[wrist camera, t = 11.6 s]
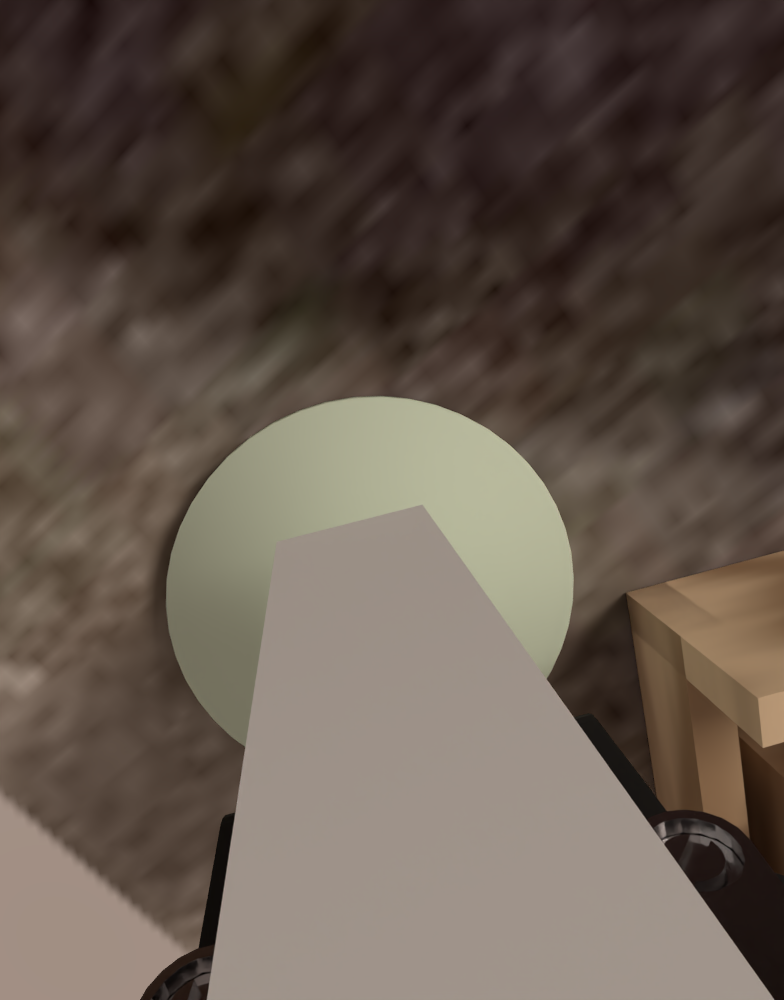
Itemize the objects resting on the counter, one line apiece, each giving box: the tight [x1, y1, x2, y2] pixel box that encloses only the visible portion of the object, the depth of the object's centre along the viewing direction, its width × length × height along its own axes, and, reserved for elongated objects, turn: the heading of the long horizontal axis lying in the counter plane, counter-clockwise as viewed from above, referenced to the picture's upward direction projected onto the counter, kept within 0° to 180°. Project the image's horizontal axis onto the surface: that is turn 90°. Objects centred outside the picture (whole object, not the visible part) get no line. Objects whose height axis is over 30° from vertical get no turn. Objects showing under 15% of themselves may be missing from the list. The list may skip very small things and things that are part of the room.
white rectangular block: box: [207, 505, 774, 1000], centre depth 9 cm, size 3×7×12 cm, turn 13°
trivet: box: [166, 396, 574, 746], centre depth 18 cm, size 11×11×1 cm
